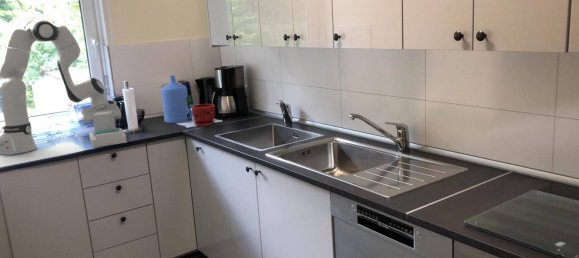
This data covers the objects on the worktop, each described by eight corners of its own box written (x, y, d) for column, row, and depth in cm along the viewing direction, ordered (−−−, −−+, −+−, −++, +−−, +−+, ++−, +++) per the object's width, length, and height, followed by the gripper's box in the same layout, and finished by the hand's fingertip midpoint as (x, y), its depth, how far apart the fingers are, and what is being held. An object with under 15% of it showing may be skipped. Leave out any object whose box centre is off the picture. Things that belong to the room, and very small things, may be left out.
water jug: (172, 124, 317) (167, 78, 310) (159, 121, 328) (154, 76, 322) (195, 119, 327) (190, 74, 320) (181, 117, 338) (176, 73, 332)
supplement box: (117, 136, 293) (114, 110, 290) (112, 140, 285) (108, 113, 281) (101, 137, 293) (97, 111, 290) (95, 141, 285) (91, 114, 281)
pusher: (96, 143, 279) (95, 131, 278) (120, 140, 284) (118, 127, 282) (97, 145, 276) (95, 132, 274) (121, 141, 280) (119, 129, 279)
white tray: (90, 139, 290) (88, 129, 289) (121, 135, 297) (120, 124, 296) (93, 147, 273) (91, 136, 271) (126, 142, 279) (125, 131, 278)
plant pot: (217, 126, 305) (215, 105, 302) (194, 128, 302) (192, 108, 299) (215, 121, 317) (213, 102, 314) (193, 124, 314) (190, 104, 311)
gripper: (80, 105, 293) (84, 125, 286) (118, 100, 301) (123, 120, 294) (81, 112, 298) (84, 132, 291) (118, 107, 306) (123, 126, 299)
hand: (104, 126), depth 293 cm, fingers closed
